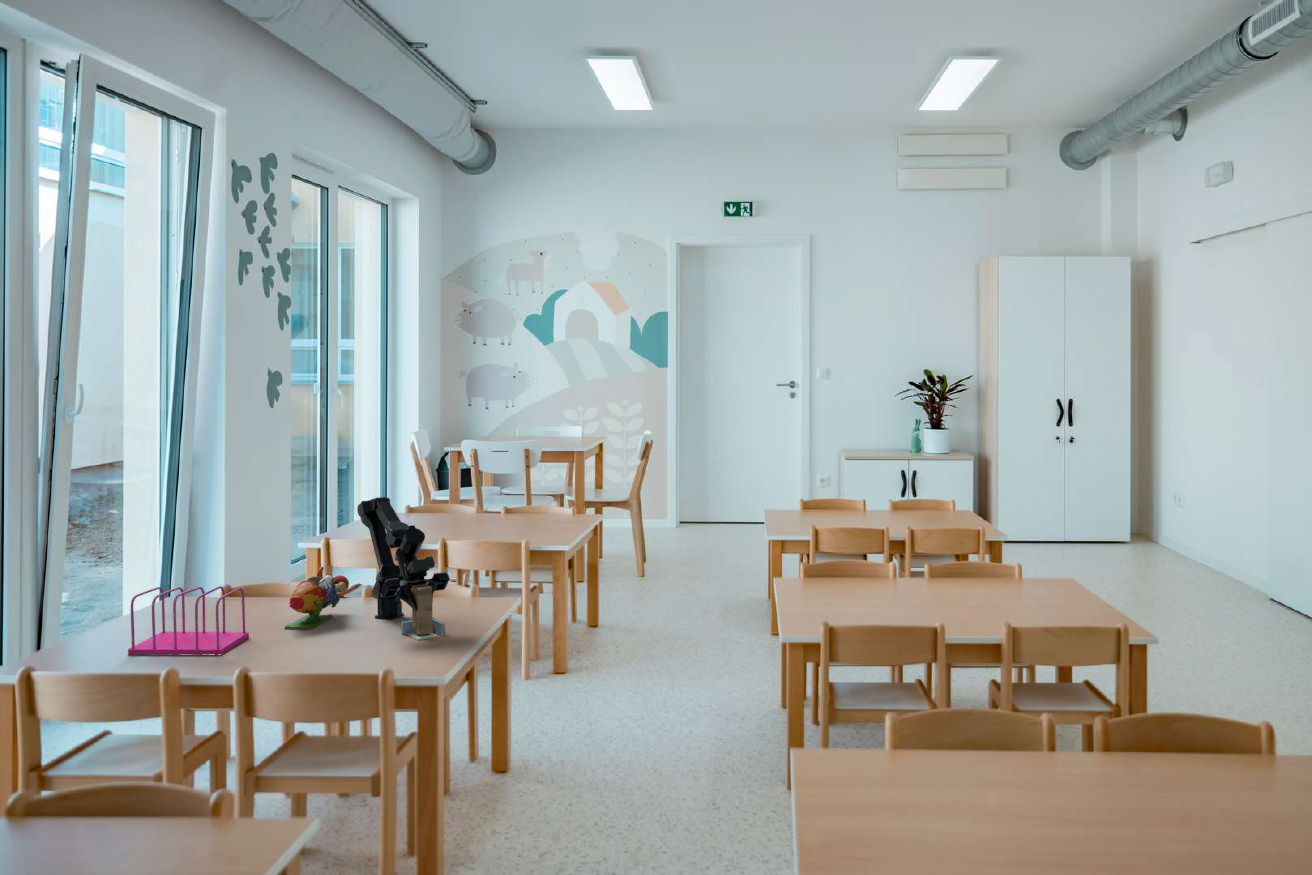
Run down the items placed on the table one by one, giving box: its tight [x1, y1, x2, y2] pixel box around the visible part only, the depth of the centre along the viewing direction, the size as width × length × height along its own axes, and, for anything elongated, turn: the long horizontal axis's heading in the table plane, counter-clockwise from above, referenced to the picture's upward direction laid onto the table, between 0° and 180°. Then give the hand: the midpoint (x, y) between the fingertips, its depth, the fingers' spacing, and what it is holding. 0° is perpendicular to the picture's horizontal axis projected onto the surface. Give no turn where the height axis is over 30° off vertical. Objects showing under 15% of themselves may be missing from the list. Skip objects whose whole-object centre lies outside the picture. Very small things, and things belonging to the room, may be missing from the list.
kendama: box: [333, 574, 350, 597], centre depth 324 cm, size 8×6×18 cm
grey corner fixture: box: [400, 616, 446, 641], centre depth 276 cm, size 9×10×4 cm
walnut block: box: [411, 584, 434, 635], centre depth 275 cm, size 5×4×13 cm
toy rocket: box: [284, 566, 342, 631], centre depth 290 cm, size 14×25×15 cm, turn 173°
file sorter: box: [127, 585, 250, 656], centre depth 265 cm, size 17×25×16 cm
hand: (424, 609), depth 273 cm, fingers closed on walnut block, 4 cm apart
